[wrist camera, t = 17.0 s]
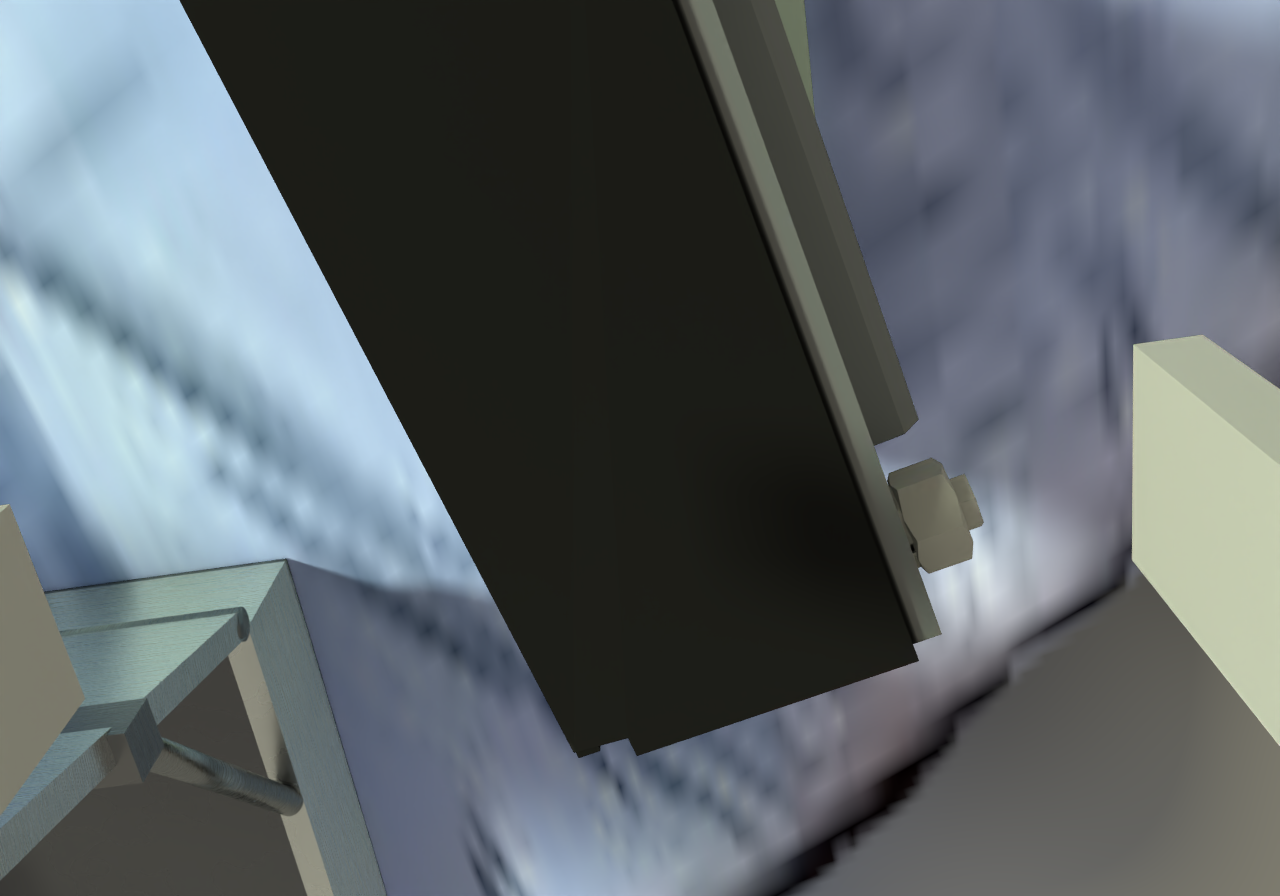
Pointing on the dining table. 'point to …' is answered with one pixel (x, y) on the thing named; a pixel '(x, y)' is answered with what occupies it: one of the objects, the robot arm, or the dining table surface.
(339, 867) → the case
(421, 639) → the dining table surface
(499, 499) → the electrical component
